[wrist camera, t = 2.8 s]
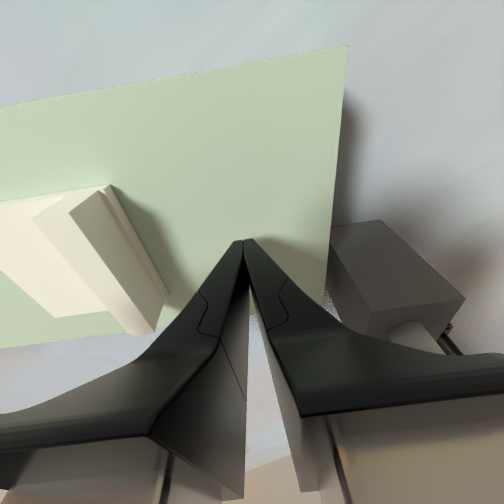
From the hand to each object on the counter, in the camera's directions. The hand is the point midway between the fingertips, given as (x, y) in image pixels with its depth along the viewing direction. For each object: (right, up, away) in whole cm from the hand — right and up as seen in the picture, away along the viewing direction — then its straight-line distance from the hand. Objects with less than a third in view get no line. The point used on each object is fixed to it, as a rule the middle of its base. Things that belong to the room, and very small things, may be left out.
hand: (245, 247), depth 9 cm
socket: (-8, +2, +4) cm, 9 cm away
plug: (+7, 0, +7) cm, 10 cm away
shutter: (-8, -1, +1) cm, 8 cm away
